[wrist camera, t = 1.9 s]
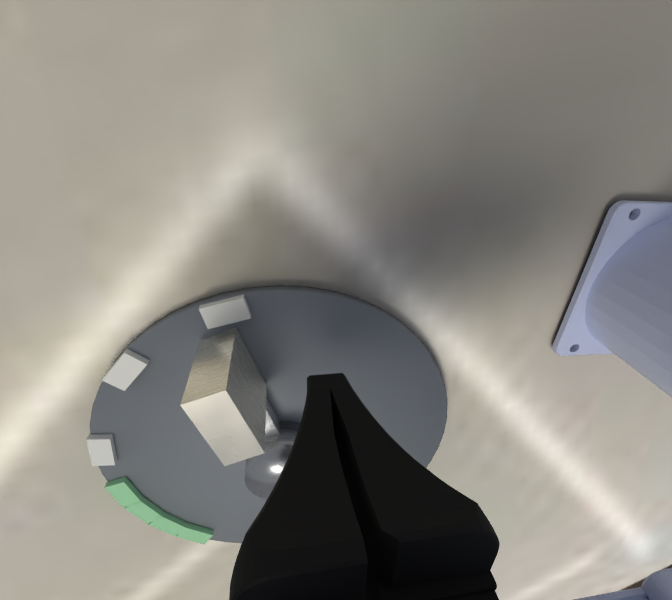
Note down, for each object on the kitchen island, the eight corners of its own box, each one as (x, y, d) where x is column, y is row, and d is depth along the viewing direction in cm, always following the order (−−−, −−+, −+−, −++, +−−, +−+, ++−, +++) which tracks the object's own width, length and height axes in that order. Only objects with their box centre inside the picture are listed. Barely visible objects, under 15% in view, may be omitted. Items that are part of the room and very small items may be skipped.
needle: (325, 456, 20) (335, 526, 17) (262, 476, 20) (260, 550, 17) (258, 319, 15) (254, 380, 12) (177, 346, 16) (151, 414, 12)
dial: (477, 283, 17) (487, 292, 16) (414, 517, 26) (419, 530, 25) (42, 288, 14) (28, 299, 13) (135, 549, 23) (130, 565, 22)
